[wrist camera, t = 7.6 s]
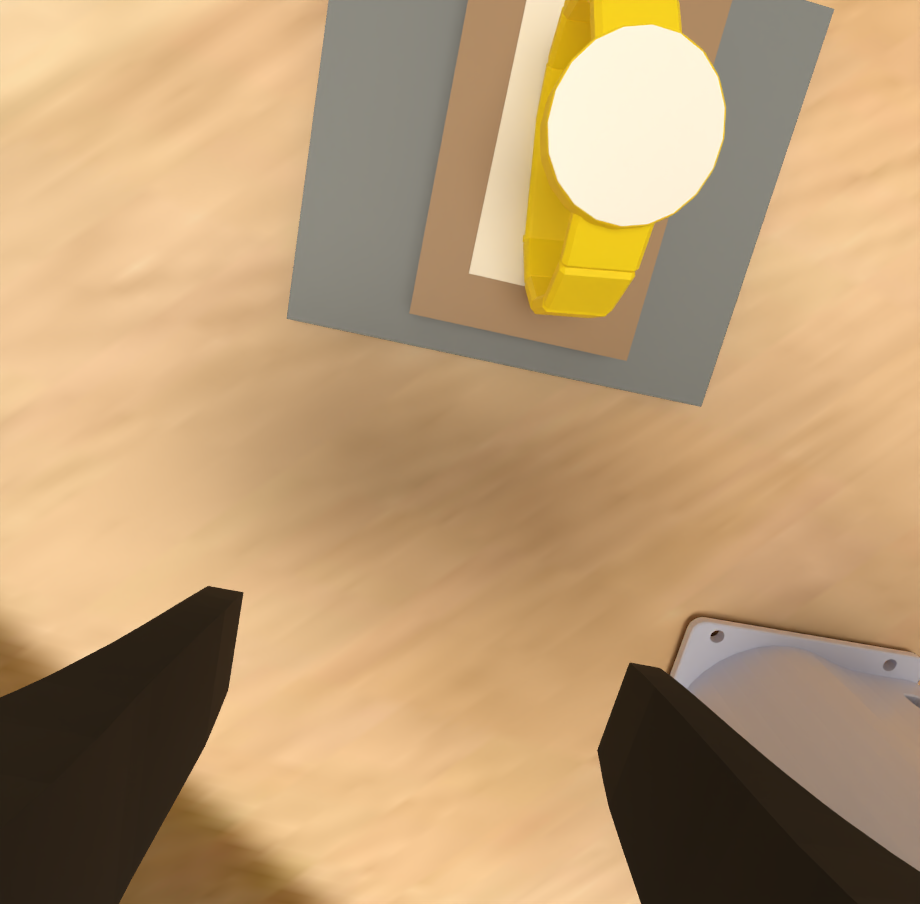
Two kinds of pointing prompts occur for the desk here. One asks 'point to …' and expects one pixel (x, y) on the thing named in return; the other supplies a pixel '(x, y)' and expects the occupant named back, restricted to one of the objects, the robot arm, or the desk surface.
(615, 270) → the watch
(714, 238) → the base board
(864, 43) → the desk surface
